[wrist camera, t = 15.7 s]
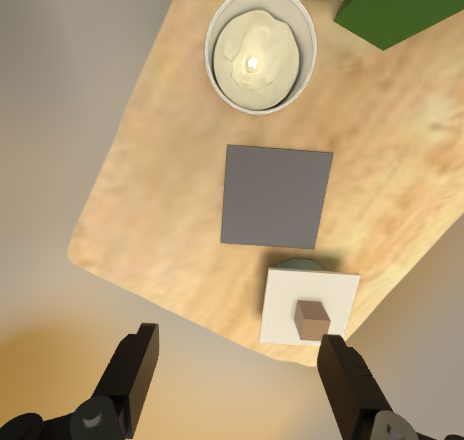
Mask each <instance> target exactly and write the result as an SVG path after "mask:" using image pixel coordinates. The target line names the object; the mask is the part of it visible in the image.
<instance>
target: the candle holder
mask: <svg viewBox="0 0 464 440" xmlns="http://www.w3.org/2000/svg"><path fill="white" fill-rule="evenodd" d="M316 56H317V38H316V32H315V28H314V24H313V22H312V19H311V17H310V15H309V13H308V11H307V10H306V8H305V7H304V5H303V4H302V3H301V2H300V1H299V0H225V1H224V2H223V3H222V5H221V6H220V7H219V8H218V10H217V11H216V13H215V15H214V16H213V18H212V20H211V23H210V25H209V28H208V31H207V35H206V40H205V64H206V69H207V73H208V76H209V79H210V81H211V83H212V85H213V87H214V89H215V90H216V92H217V93H218V94H219V96H220V97H221V98H222V99H223V100H224V101H225V102H226V103H227V104H229V105H230V106H231V107H233V108H235V109H236V110H239V111H241V112H244V113H248V114H253V115H264V114H270V113H273V112H276V111H279V110H281V109H283V108H285V107H286V106H288V105H289V104H291V103H292V102H293V101H294V100H295V99H296V98H297V97H298V96H299V95H300V94H301V93H302V91H303V90H304V89H305V87H306V85H307V84H308V82H309V80H310V78H311V75H312V73H313V70H314V67H315V62H316Z"/></svg>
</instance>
